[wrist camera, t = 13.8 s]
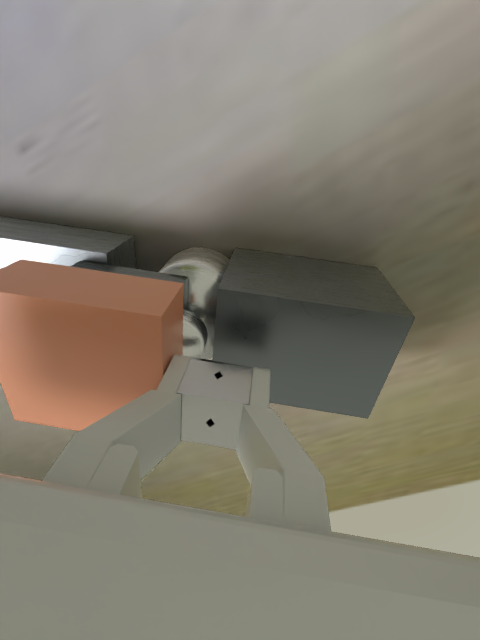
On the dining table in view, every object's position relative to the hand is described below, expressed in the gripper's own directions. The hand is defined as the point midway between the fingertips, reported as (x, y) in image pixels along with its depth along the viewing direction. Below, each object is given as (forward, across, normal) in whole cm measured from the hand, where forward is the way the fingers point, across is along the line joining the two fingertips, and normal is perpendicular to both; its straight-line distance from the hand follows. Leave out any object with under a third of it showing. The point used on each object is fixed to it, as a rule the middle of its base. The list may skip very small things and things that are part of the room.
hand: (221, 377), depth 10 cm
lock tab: (+1, +4, 0) cm, 4 cm away
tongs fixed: (+6, +7, 0) cm, 9 cm away
